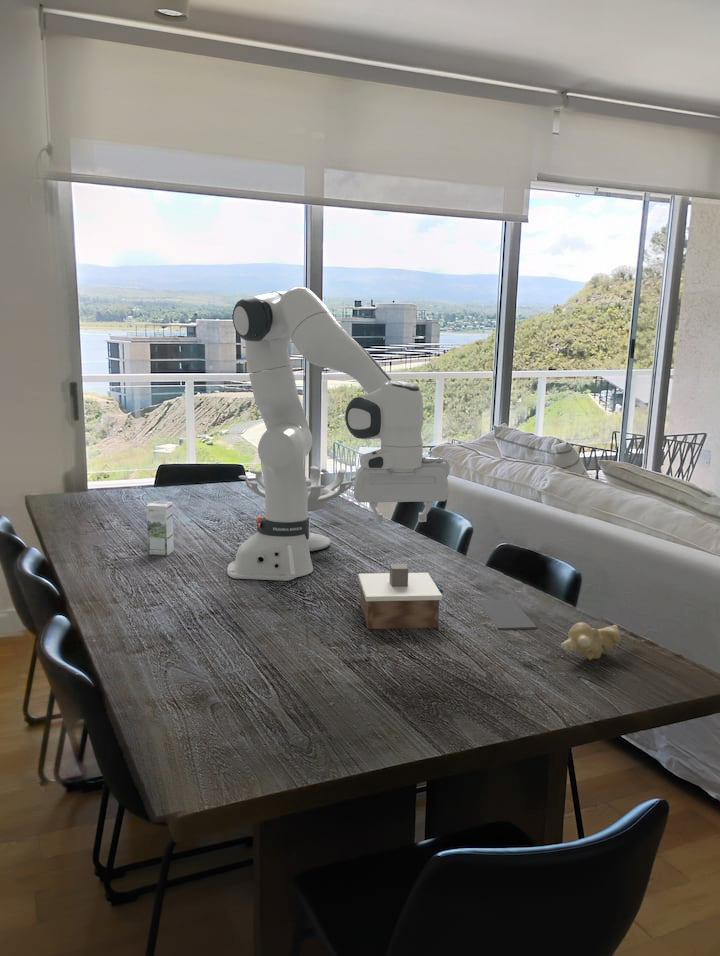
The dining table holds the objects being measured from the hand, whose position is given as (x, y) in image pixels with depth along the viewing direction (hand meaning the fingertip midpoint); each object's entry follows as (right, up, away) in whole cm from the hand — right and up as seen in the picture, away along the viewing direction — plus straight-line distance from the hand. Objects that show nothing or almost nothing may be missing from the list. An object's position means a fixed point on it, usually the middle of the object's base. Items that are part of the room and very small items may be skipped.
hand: (400, 521), depth 167 cm
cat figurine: (+36, -26, -14) cm, 47 cm away
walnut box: (0, -22, +4) cm, 22 cm away
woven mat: (+6, -19, +24) cm, 31 cm away
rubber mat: (+19, -21, +8) cm, 30 cm away
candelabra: (-27, -11, +63) cm, 69 cm away
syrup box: (-65, -12, +52) cm, 84 cm away
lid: (0, -16, +3) cm, 16 cm away
